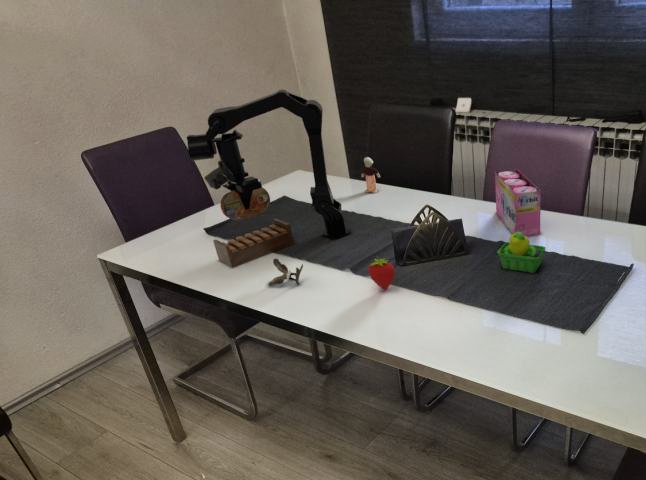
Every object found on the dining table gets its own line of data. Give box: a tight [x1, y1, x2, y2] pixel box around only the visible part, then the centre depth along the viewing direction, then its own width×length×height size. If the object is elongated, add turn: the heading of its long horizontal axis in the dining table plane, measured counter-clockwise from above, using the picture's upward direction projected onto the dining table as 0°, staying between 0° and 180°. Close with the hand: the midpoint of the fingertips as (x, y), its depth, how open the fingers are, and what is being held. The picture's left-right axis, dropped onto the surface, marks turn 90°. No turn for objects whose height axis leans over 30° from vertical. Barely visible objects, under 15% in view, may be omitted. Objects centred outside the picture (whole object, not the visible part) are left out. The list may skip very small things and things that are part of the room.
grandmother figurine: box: [360, 156, 381, 194], centre depth 219 cm, size 8×4×13 cm, turn 80°
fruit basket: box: [496, 232, 547, 274], centre depth 157 cm, size 11×9×11 cm
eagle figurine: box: [268, 258, 304, 287], centre depth 161 cm, size 8×7×9 cm
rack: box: [212, 218, 295, 269], centre depth 180 cm, size 8×21×6 cm, turn 135°
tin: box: [219, 187, 271, 222], centre depth 180 cm, size 15×3×8 cm, turn 134°
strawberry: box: [368, 257, 396, 291], centre depth 152 cm, size 6×8×10 cm
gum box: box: [494, 168, 542, 237], centre depth 184 cm, size 24×8×14 cm, turn 13°
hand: (244, 208), depth 180 cm, fingers closed on tin, 2 cm apart
